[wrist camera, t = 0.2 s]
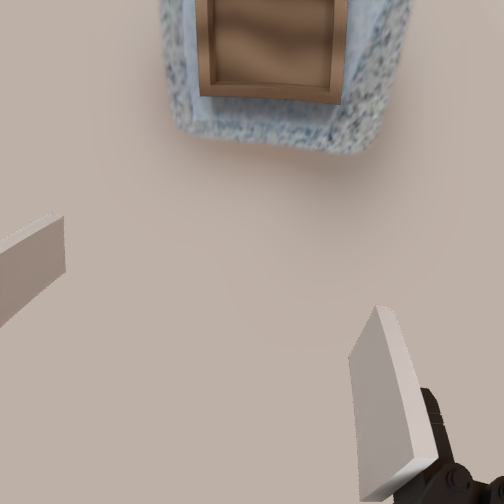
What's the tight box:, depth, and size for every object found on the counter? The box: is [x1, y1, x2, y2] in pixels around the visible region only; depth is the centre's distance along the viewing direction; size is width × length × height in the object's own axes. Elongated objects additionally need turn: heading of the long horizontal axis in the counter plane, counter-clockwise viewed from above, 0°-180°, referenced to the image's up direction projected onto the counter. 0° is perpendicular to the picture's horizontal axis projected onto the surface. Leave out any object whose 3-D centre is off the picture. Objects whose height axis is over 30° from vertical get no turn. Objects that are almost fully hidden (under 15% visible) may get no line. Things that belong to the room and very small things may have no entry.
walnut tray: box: [195, 0, 348, 105], centre depth 26 cm, size 14×14×3 cm
